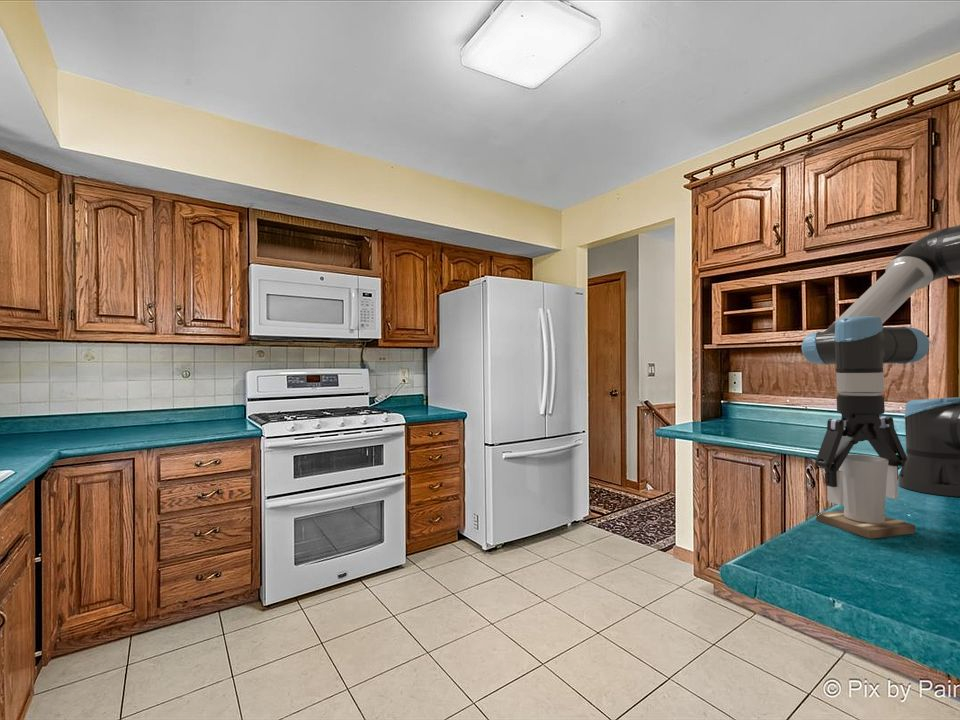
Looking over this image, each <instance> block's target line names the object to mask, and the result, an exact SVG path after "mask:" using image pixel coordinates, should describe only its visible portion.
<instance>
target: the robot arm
mask: <svg viewBox="0 0 960 720" xmlns="http://www.w3.org/2000/svg"><path fill="white" fill-rule="evenodd" d="M952 276H953V277H954V276H960V224H958V225H955V226H951V227H946V228H941V229H938V230H935V231H933V232H930V233H929V234H927V235H924V236H923V237H921V238H919V239H917V240H916V241H914V242H913V243H911V244H910V245H908V246H906V248H904V249H903V250H902V251H901V252H899V253H898V254H897V255H896V256H895V257H893V258H892V259H891V261H890V262H888V263H887V264H886V267H885V272H884V273H883V275H881V276H880V277H879V278H878V279H877V280H875V282H874V283H873V284H871V286H870V287H869V288H868V289H867V290H865V292H864V293H863V294H862V295H860V296H859V298H858V299H857V300H855V301H854V302H853V303H852V304H851V305H850V306H849V307H848V308H847V309H846V310H845V311H844V312H843V313H842V314H841V315H840V316H839V317H838V318H836V319H835V321H833V323H832V324H830V325H829V326H828V328H826V329H825V330H824V331H822V332H821V331H816V332H813V333H809V334H807V335H806V336H805V337H804V338H803V340H802V343H801V352H802V355H803V357H804V358H805V360H806V361H808V362H809V363H810V364H820V365H835V366H836V368H835V373H836V375H835V377H836V391H837V393H840V394H837V396H836V410H837V413H839V414H841V419H837V418H829V419H827V424H826V432H825V434H824V437H823V440H822V443H821V445H820V448H819V451H818V453H817V456H816V459H815V461H814V464H815V466H816V467H819V468H820V469H824V477H825V481H824V482H825V485H826V489H827V490H826V491H827V492H826V493H827V494H826V496H827V502H829V503H831V504H836V505H839V506H844V501H843V471H840V470H839V468H840V466H841V465H842V463H843V461H844V460H845V458H846V457H847V455H848V454H849V453H850V452H851V451H852V449H853V447H854V446H855V445H857V444H858V443H859V442H864V441H867V442H868V443H869V444H870V445H871V447H872V448H873V449H874V451H875V452H876V454H877V455H878V457H881V458H885V459H888V460H889V461H888V472H887V483H886V498H889V499H894V500H898V499H899V489H898V487H899V486H900V487H901V488H904V489H907V490H910V491H914V492H919V493H924V494H930V495H937V496H947V497H957V498H959V497H960V397H959V396H958V397H945V398H943V397H942V398H928V399H927V398H925V399H924V398H922V399H912V400H909V401H907V403H906V404H905V407H904V410H905V411H904V416H903V418H904V427H905V428H904V430H905V432H904V433H905V449H904V447H903V445H902V443H901V440H900V438H899V436H898V433H897V431H896V429H895V423H894V418H893V417H892V416H884V415H883V414H885V410H886V408H885V397H884V396H883V395H881V393H882V394H883V393H884V392H885V376H884V375H885V374H884V364H887V365H888V364H898V365H899V364H901V365H902V364H903V365H907V364H910V363H916V362H918V361H920V360H922V359H924V357H926V355H927V354H928V352H929V350H930V340H929V338H928V336H927V334H926V333H925V332H923V331H922V330H921V329H918V328H915V327H907V326H889V327H888V326H887V327H886V326H885V327H884V326H883V324H884V323H885V322H886V321H887V320H888V319H889V318H890V317H891V316H893V314H894V313H895V312H896V311H897V310H898V309H899V308H900V307H901V306H902V305H903V304H905V302H906V301H907V300H908V299H909V298H910V297H911V296H912V295H913V294H914V293H915V292H916V291H917V290H922V289H924V288H926V287H927V286H929V285H930V284H931V283H932V282H934V281H936V280H939V279H942V278H948V277H952ZM899 467H901V468H900V471H899Z"/></svg>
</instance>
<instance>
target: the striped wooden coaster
mask: <svg viewBox="0 0 960 720" xmlns="http://www.w3.org/2000/svg"><path fill="white" fill-rule="evenodd" d="M821 513H822V514H821ZM819 514H820V515H819ZM818 515H819V516H818ZM816 516H817V517H816ZM884 517H885V522H883V523H865V522H859V521H855V520H851V519H848V518H846V517H845V516H844V509H842V510H832V511H825V512H824V511H823V512H817V513H816V512H815V520H816V521H817V522H819V523H822V522H824V523H823V524H825V523H826V524H825V525H828V524H829V526H831V525H833V526H832V527H834V526H836V527H835V528H837V527H838V528H837V529H840V528H841V529H840V530H843V531H847V532H849V533H851V534H854V535H858V536H861V537H864V538H867V539H870V540H871V539H878V538H887V537H893V536H894V537H895V536H901V535H910V534H916V525H915V524H913V523H909V522H906V520H902V519H896V518H891V517H889V516H885V515H884Z"/></svg>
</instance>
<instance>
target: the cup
mask: <svg viewBox="0 0 960 720" xmlns="http://www.w3.org/2000/svg"><path fill="white" fill-rule="evenodd" d="M888 461H889V460H888V459H885V458H881V457H880V456H876V455H868V454H852V453H851V454H849V453H848V455H847V457H846V458H845V460H844V461H843V463H842V465H841V466H840V468H839V470H840V471H843V501H844V505H843V510H844V516H845V517H846V518H848V519H851V520H855V521H859V522H865V523H883V522H885V517H886V516H885V512H886V511H885V510H886V498H887V497H886V483H887V472H888ZM884 516H885V517H884Z"/></svg>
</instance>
